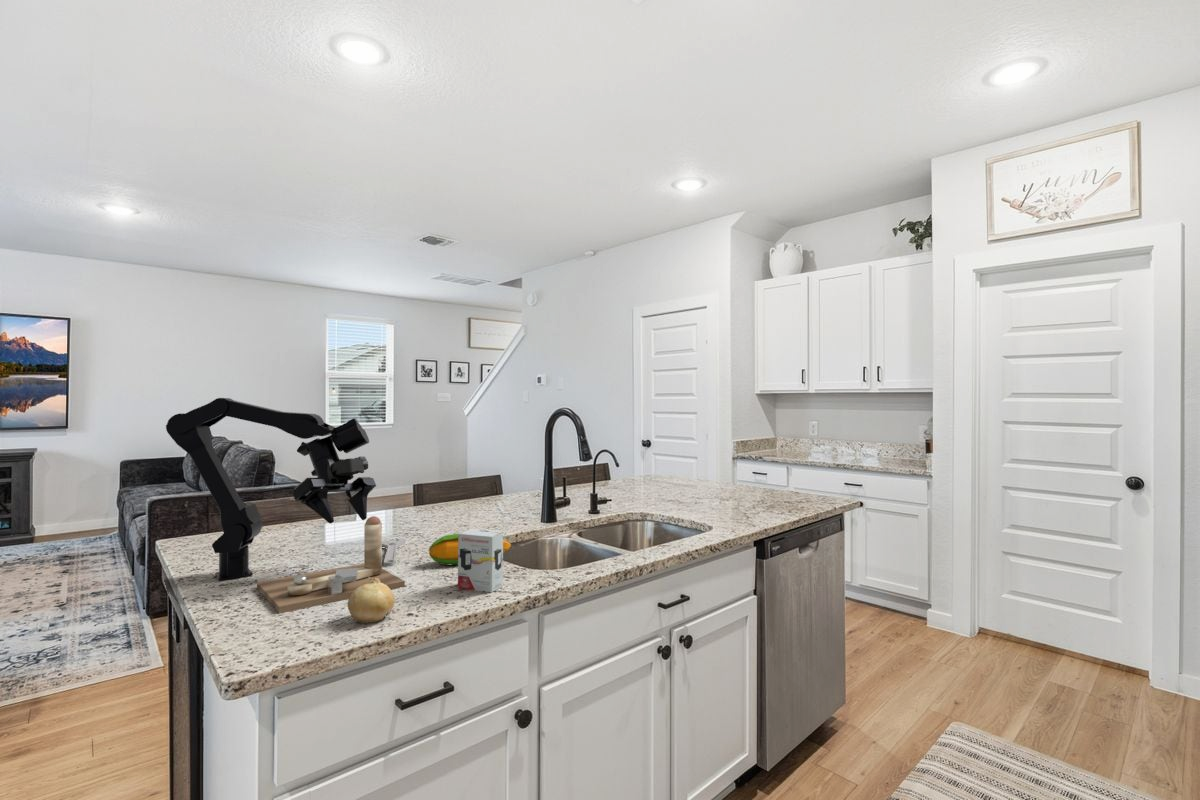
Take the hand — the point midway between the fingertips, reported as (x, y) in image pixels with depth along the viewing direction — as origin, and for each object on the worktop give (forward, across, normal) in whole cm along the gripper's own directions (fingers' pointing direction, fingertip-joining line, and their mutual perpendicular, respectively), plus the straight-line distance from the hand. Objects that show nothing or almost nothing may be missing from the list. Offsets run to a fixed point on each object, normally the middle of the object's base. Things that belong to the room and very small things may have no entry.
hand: (348, 520), depth 131 cm
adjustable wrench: (+5, +21, +12) cm, 25 cm away
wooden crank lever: (+12, -6, +3) cm, 14 cm away
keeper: (+15, -10, +1) cm, 18 cm away
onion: (+26, -15, -12) cm, 32 cm away
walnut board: (+12, -5, +6) cm, 15 cm away
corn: (+18, +24, -8) cm, 31 cm away
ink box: (+28, +8, -19) cm, 34 cm away
